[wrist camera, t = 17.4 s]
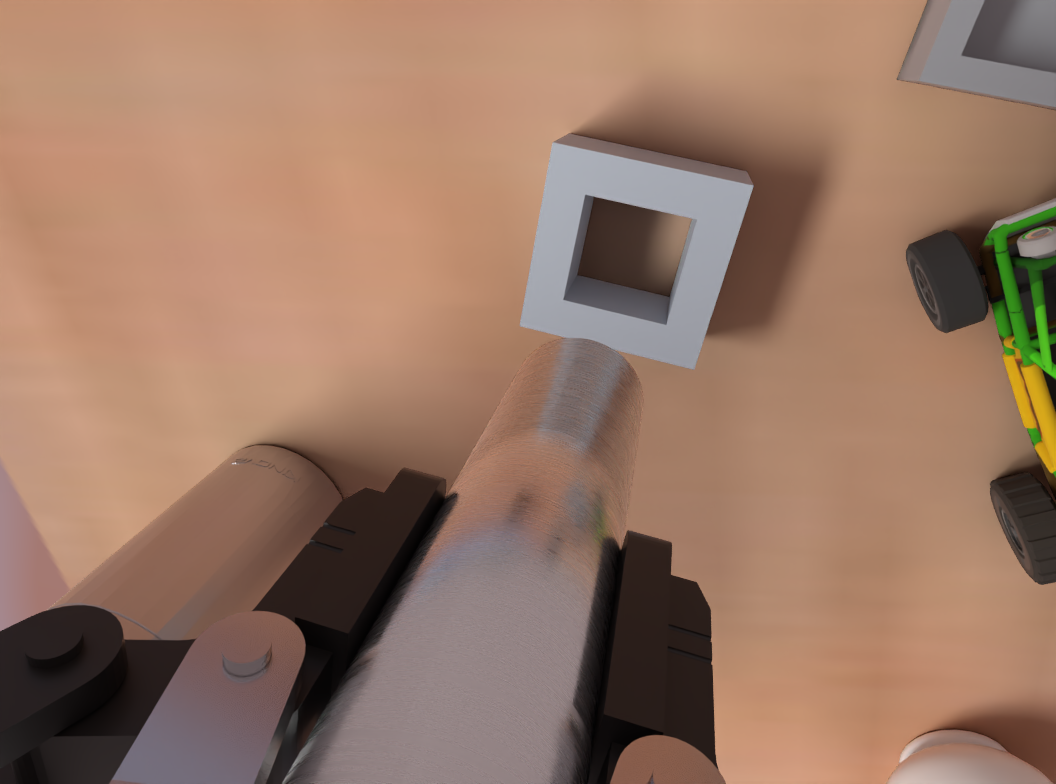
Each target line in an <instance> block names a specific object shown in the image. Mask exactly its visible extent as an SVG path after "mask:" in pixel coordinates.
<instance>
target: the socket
mask: <svg viewBox="0 0 1056 784" xmlns="http://www.w3.org/2000/svg"><path fill="white" fill-rule="evenodd" d="M753 187H754V185H753V183H752V181H751V179H750V177H749V175H748V173H747V171H743V170H739V169H734V168H729V167H725V166H720V165H715V164H711V163H706V162H701V161H696V160H692V159H687V158H682V157H678V156H673V155H668V154H664V153H659V152H654V151H650V150H645V149H640V148H635V147H631V146H626V145H621V144H617V143H612V142H607V141H603V140H598V139H593V138H589V137H584V136H579V135H574V134H570V133H569V134H567V135H566V136H564V137H562V138H560V139H558V140H556V141H554V142H553V144H552V149H551V155H550V160H549V166H548V171H547V177H546V183H545V188H544V194H543V199H542V205H541V210H540V216H539V221H538V227H537V233H536V238H535V244H534V249H533V255H532V260H531V266H530V271H529V277H528V283H527V288H526V294H525V299H524V305H523V310H522V316H521V321H520V326H522V327H525V328H529V329H533V330H537V331H541V332H545V333H549V334H553V335H557V336H561V337H565V338H583V339H589V340H593V341H596V342H599V343H602V344H604V345H606V346H608V347H610V348H612V349H613V350H617V351H621V352H625V353H629V354H633V355H637V356H641V357H645V358H649V359H653V360H657V361H661V362H665V363H669V364H673V365H677V366H681V367H685V368H689V369H693V370H694V369H695V366H696V363H697V359H698V356H699V353H700V350H701V347H702V344H703V341H704V338H705V335H706V332H707V329H708V325H709V322H710V319H711V316H712V313H713V310H714V307H715V304H716V301H717V298H718V295H719V292H720V288H721V285H722V282H723V279H724V276H725V273H726V270H727V267H728V264H729V261H730V258H731V254H732V251H733V248H734V245H735V242H736V239H737V236H738V233H739V230H740V227H741V224H742V221H743V217H744V214H745V211H746V208H747V205H748V202H749V199H750V196H751V193H752V190H753ZM594 197H598V198H603V199H607V200H612V201H616V202H621V203H625V204H630V205H634V206H639V207H643V208H647V209H652V210H656V211H661V212H665V213H670V214H674V215H679V216H683V217H688V218H692V221H691V224H690V228H689V231H688V235H687V238H686V242H685V245H684V249H683V252H682V256H681V259H680V263H679V266H678V270H677V273H676V277H675V280H674V283H673V287H672V290H671V294H670V297H668V296H663V295H659V294H655V293H651V292H647V291H643V290H638V289H634V288H630V287H626V286H622V285H617V284H613V283H609V282H605V281H601V280H596V279H592V278H588V277H584V276H580V275H577V274H578V270H579V265H580V260H581V256H582V251H583V246H584V242H585V237H586V233H587V228H588V223H589V219H590V214H591V209H592V205H593V200H594Z"/></svg>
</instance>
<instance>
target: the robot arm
mask: <svg viewBox="0 0 1056 784" xmlns="http://www.w3.org/2000/svg"><path fill="white" fill-rule="evenodd" d="M445 494H446V480H445V479H444V478H440V477H437V476H433V475H429V474H426V473H422V472H419V471H415V470H411V469H408V468H403V469H402V470H401V471H400V472H399V473H398V475H397V476H396V477H395V479H394V480H393V482H392V483H391V484H390V486H389V487H388V489H387V490H386V491H385V493H382V492H379V491H375V490H372V489H368V488H365V489H363V490H361V491H359V492H357V493H356V494H354V495H352V496H350V497H348V498H347V499H345V500H342V497H341V495H340V493H339V492H338V490H337V489H336V487H335V486H334V484H333V483H332V481H331V480H330V479H329V478H328V477H327V476H326V475H325V474H324V472H323V471H321V470H320V469H319V468H318V467H317V466H315V465H314V464H313V463H312V462H310V461H309V460H307V459H305V458H304V457H302V456H300V455H298V454H297V453H294V452H292V451H289V450H286V449H284V448H280V447H274V446H269V445H255V446H251V447H247V448H243V449H241V450H239V451H238V452H236V453H234V454H232V455H231V456H230V457H229V458H228V459H227V460H225V461H224V462H223V463H222V464H221V465H219V466H218V467H217V468H216V469H215V470H213V471H212V472H211V473H210V474H209V475H207V476H206V477H205V478H204V479H203V480H201V481H200V482H199V483H198V484H197V485H196V486H194V487H193V488H192V489H190V490H189V491H188V492H187V493H186V494H184V495H183V496H182V497H181V498H180V499H178V500H177V501H176V502H175V503H174V504H172V505H171V506H170V507H169V508H168V509H167V510H165V511H164V512H163V513H162V514H161V515H159V516H158V517H157V518H156V519H155V520H153V521H152V522H151V523H150V524H149V525H147V526H146V527H145V528H144V529H143V530H142V531H140V532H139V533H138V534H137V535H136V536H134V537H133V538H132V539H131V540H130V541H128V542H127V543H126V544H125V545H124V546H122V547H121V548H120V549H119V550H118V551H116V552H115V553H114V554H113V555H112V556H111V557H109V558H108V559H107V560H106V561H105V562H103V563H102V564H101V565H100V566H99V567H97V568H96V569H95V570H94V571H93V572H91V573H90V574H89V575H88V576H87V577H86V578H84V579H83V580H82V581H81V582H80V583H78V584H77V585H76V586H75V587H74V588H72V589H71V590H70V591H69V592H68V593H67V594H65V595H64V596H63V597H62V598H61V599H59V600H58V601H57V602H56V603H55V604H53V605H52V606H51V607H50V608H49V609H47V610H46V611H44V612H41V613H38V614H36V615H34V616H31V617H29V618H27V619H25V620H23V621H21V622H19V623H17V624H14V625H12V626H10V627H9V628H6V629H4V630H2V631H0V784H282V782H283V780H284V779H285V777H286V775H287V773H288V772H289V770H290V768H291V766H292V765H293V763H294V761H295V759H296V758H297V756H298V754H299V752H300V751H301V749H302V747H303V745H304V744H305V742H306V740H307V738H308V737H309V735H310V733H311V731H312V730H313V728H314V726H315V724H316V723H317V721H318V719H319V717H320V716H321V714H322V712H323V711H324V709H325V707H326V705H327V704H328V702H329V700H330V698H331V697H332V695H333V693H334V691H335V690H336V688H337V686H338V684H339V683H340V681H341V679H342V677H343V676H344V674H345V672H346V671H347V669H348V667H349V665H350V664H351V662H352V660H353V658H354V657H355V655H356V653H357V651H358V650H359V648H360V646H361V644H362V643H363V641H364V639H365V637H366V636H367V634H368V632H369V630H370V629H371V627H372V625H373V623H374V622H375V620H376V618H377V616H378V615H379V613H380V611H381V609H382V608H383V606H384V604H385V603H386V601H387V599H388V597H389V596H390V594H391V592H392V590H393V589H394V587H395V585H396V583H397V582H398V580H399V578H400V576H401V575H402V573H403V571H404V569H405V568H406V566H407V564H408V562H409V561H410V559H411V557H412V555H413V554H414V552H415V550H416V548H417V547H418V545H419V543H420V541H421V540H422V538H423V536H424V534H425V533H426V531H427V529H428V527H429V526H430V524H431V522H432V520H433V519H434V517H435V515H436V514H437V512H438V510H439V508H440V507H441V505H442V503H443V501H444V500H445ZM671 557H672V543H671V542H668V541H665V540H661V539H658V538H654V537H651V536H647V535H643V534H640V533H636V532H633V531H629V530H628V531H627V533H626V536H625V539H624V542H623V545H622V548H621V553H620V560H619V567H618V573H617V580H616V587H615V594H614V600H613V607H612V614H611V620H610V627H609V634H608V641H607V647H606V654H605V661H604V667H603V674H602V681H601V688H600V694H599V701H598V708H597V714H596V721H595V728H594V735H593V741H592V748H591V767H590V774H589V780H588V784H726V783H725V780H724V779H723V777H722V775H721V774H720V772H719V770H718V766H717V763H716V755H715V731H714V700H713V669H712V665H711V662H712V642H710V641H711V609H710V607H709V605H708V603H707V601H706V599H705V597H704V595H703V593H702V591H701V590H700V588H699V586H698V584H697V582H694V581H690V580H687V579H683V578H680V577H676V576H673V575H671Z"/></svg>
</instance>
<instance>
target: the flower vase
mask: <svg viewBox="0 0 1056 784" xmlns="http://www.w3.org/2000/svg"><path fill="white" fill-rule="evenodd" d="M886 784H1054V783H1053V782H1052V781H1051V780H1049V779H1048V778H1047V777H1046V776H1045V775H1044V774H1043V773H1042V772H1041V771H1039V770H1038V769H1037V768H1035V767H1034V766H1032V765H1031V764H1029V763H1027V762H1025V761H1023V760H1021V759H1020V758H1018V757H1016V756H1014V755H1012V754H1010V753H1009V752H1008V751H1007V750H1006V749H1005V748H1003V747H1002V746H1001V745H1000V744H999V743H998V742H996V741H994V740H992V739H991V738H989V737H987V736H984V735H981V734H978V733H975V732H971V731H964V730H956V729H955V730H939V731H934V732H930V733H926V734H924V735H922V736H919V737H917V738H915V739H914V740H913V741H911V742H910V743H909V744H907V745H906V747H905V748H904V749H903V751H902V752H901V755H900V759H899V764H898V766H897V767H896V768H895V770H894V771H893V773H892V774H891V775H890V777H889V778H888V780H887V782H886Z"/></svg>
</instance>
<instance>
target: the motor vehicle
mask: <svg viewBox="0 0 1056 784" xmlns="http://www.w3.org/2000/svg"><path fill="white" fill-rule="evenodd" d="M979 254H980V258H981V262H982V265H980V266H976V263H975V261H974V259H973V257H972V255H971V253H970V252H969V250H968V248H967V247H966V245H965V244H964V242H963V241H962V239H961V238H960V237H959V236H958V235H957V234H956V233H954V232H951V231H948V230H944V231H942V232H939V233H937V234H934V235H932V236H929V237H927V238H924V239H922V240H919V241H917V242H914V243H911V244H909V246H908V249H907V251H906V259H907V264H908V267H909V270H910V273H911V276H912V279H913V282H914V285H915V288H916V291H917V294H918V296H919V299H920V301H921V303H922V305H923V307H924V309H925V311H926V313H927V315H928V317H929V318H930V320H931V321H932V323H933V324H934V326H935V327H936V328H937V329H938V330H940V331H942V332H945V333H948V332H951V331H954V330H957V329H960V328H963V327H966V326H968V325H971V324H974V323H977V322H980V321H983V320H984V319H985V317H986V315H987V313H988V299H987V295H988V298H989V301H990V303H991V304H992V308H993V312H994V316H995V320H996V324H997V329H998V333H999V337H1000V339H1001V342H1002V345H1003V348H1004V352H1005V353H1003V354H1002V357H1003V360H1004V363H1005V367H1006V370H1007V373H1008V376H1009V380H1010V383H1011V386H1012V389H1013V392H1014V396H1015V399H1016V402H1017V405H1018V409H1019V412H1020V415H1021V418H1022V421H1023V425H1024V427H1026V428H1027V430H1028V433H1029V435H1030V438H1031V441H1032V443H1033V446H1034V448H1035V451H1036V453H1037V456H1038V458H1039V461H1040V463H1041V465H1042V468H1043V470H1044V473H1045V475H1046V478H1047V480H1048V483H1049V485H1050V488H1051V490H1052V493H1053V495H1054V498H1055V500H1056V198H1054V199H1052V200H1049V201H1047V202H1044V203H1042V204H1039V205H1037V206H1034V207H1031V208H1029V209H1026V210H1024V211H1021V212H1019V213H1016V214H1013V215H1011V216H1008V217H1006V218H1003V219H1001V220H998V221H996V222H995V224H994V225H993V227H992V228H991V230H990V231H989V233H988V234H987V235H986V237H985V238H984V242H983V244H982V245H981V247H980V249H979ZM981 275H985V279H986V283H987V286H985V287H984V284H983V281H982V278H981ZM985 289H986V291H985ZM986 292H987V294H986ZM990 486H991V488H990V495H991V499H992V503H993V506H994V509H995V512H996V514H997V517H998V519H999V522H1000V524H1001V527H1002V529H1003V531H1004V533H1005V535H1006V538H1007V540H1008V542H1009V544H1010V546H1011V548H1012V550H1013V551H1014V553H1015V555H1016V557H1017V559H1018V560H1019V562H1020V564H1021V565H1022V567H1023V568H1024V570H1025V571H1026V573H1027V574H1028V575H1029V576H1030V577H1031V578H1032V579H1033V580H1034V581H1035V582H1037V583H1038V584H1041V585H1044V584H1048V583H1053V582H1056V504H1055V502H1054V500H1053V499H1052V497H1051V496H1050V494H1049V493H1048V491H1047V490H1046V489H1045V487H1044V486H1043V485H1042V484H1041V483H1040V482H1039V481H1038V480H1037V479H1036V478H1034V477H1033V475H1032V474H1030V473H1027V472H1026V473H1020V474H1016V475H1012V476H1008V477H1005V478H1001V479H997V480H993V481H992V482H991V483H990Z"/></svg>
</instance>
